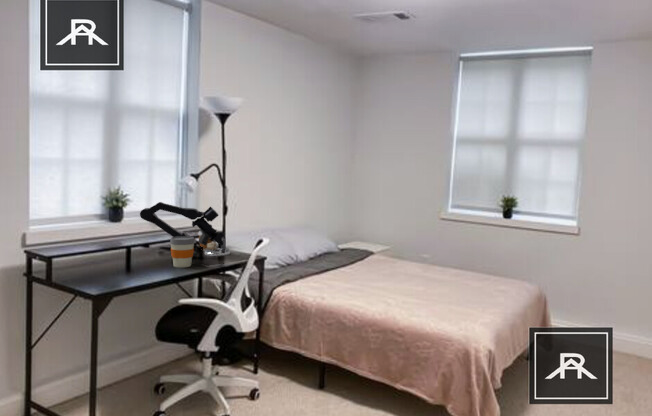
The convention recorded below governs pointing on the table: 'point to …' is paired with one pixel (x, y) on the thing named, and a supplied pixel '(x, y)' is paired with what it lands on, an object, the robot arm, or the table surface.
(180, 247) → the reusable coffee cup
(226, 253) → the index wheel
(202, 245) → the disposable coffee cup
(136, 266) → the table surface
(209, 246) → the link block
